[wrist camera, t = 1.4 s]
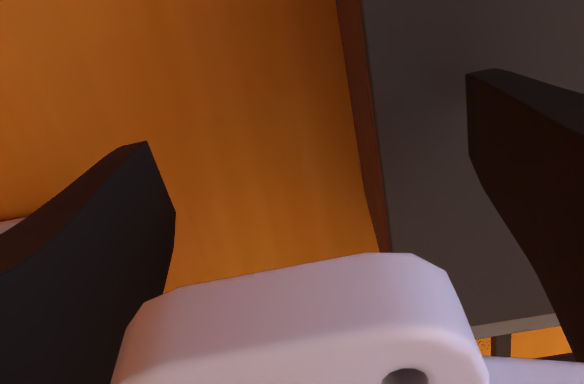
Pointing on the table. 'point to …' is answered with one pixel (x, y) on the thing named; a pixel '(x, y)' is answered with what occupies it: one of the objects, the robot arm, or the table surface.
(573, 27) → the drawer cabinet
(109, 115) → the table surface
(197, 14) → the table surface
